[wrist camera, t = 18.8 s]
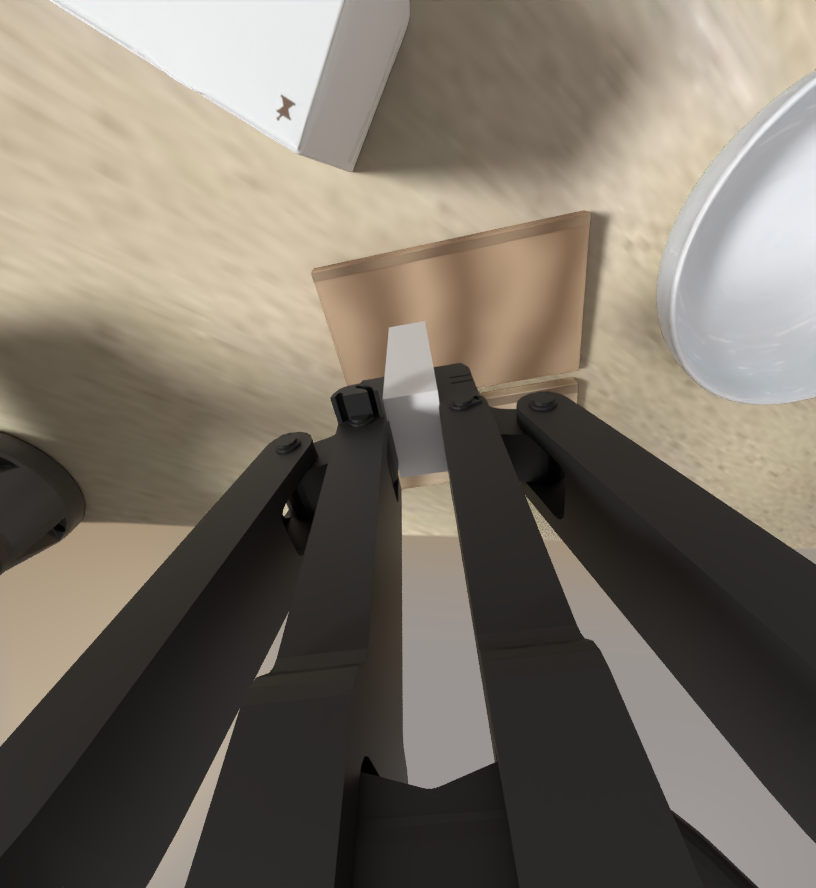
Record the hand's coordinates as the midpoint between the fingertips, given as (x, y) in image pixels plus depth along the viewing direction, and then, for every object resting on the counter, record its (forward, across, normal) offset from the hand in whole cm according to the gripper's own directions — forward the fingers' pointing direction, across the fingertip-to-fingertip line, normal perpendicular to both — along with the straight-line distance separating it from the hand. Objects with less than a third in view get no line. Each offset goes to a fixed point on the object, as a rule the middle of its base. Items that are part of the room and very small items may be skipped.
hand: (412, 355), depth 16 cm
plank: (+17, -3, +4) cm, 17 cm away
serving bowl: (+17, -27, +2) cm, 32 cm away
